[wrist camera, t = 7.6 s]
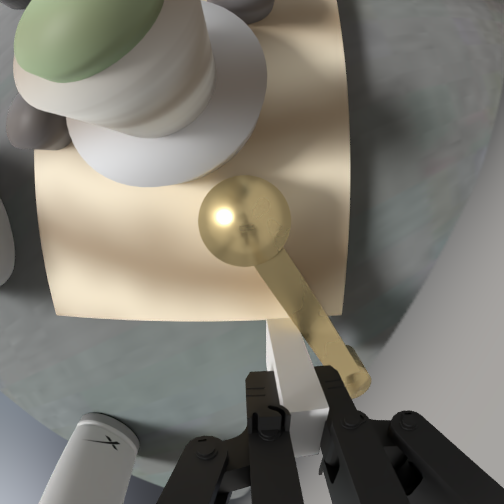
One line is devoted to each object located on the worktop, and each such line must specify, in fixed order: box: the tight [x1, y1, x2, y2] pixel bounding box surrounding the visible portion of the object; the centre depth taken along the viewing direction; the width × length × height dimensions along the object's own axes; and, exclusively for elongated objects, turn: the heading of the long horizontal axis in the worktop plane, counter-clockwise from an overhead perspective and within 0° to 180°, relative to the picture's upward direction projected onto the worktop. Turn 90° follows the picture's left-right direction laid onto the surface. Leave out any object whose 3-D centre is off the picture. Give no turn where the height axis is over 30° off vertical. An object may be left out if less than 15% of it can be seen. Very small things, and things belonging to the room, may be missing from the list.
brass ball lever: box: [198, 175, 371, 399], centre depth 14 cm, size 13×4×3 cm, turn 33°
